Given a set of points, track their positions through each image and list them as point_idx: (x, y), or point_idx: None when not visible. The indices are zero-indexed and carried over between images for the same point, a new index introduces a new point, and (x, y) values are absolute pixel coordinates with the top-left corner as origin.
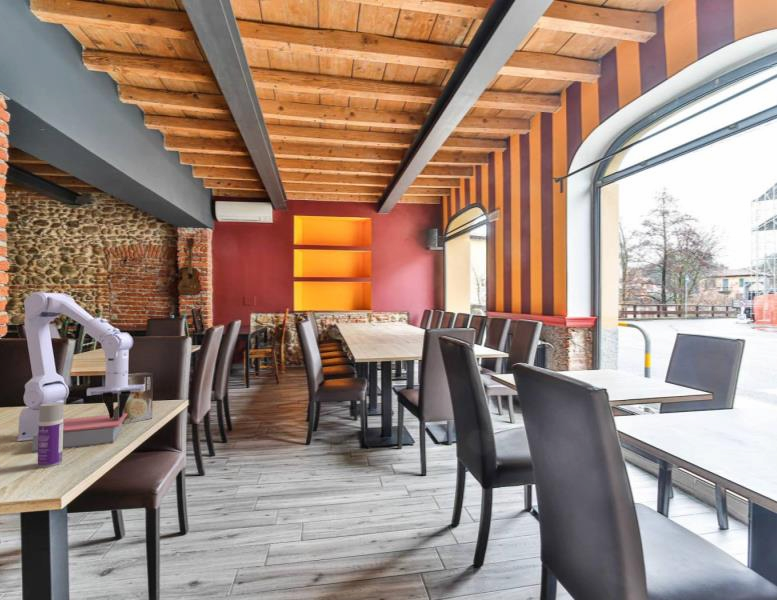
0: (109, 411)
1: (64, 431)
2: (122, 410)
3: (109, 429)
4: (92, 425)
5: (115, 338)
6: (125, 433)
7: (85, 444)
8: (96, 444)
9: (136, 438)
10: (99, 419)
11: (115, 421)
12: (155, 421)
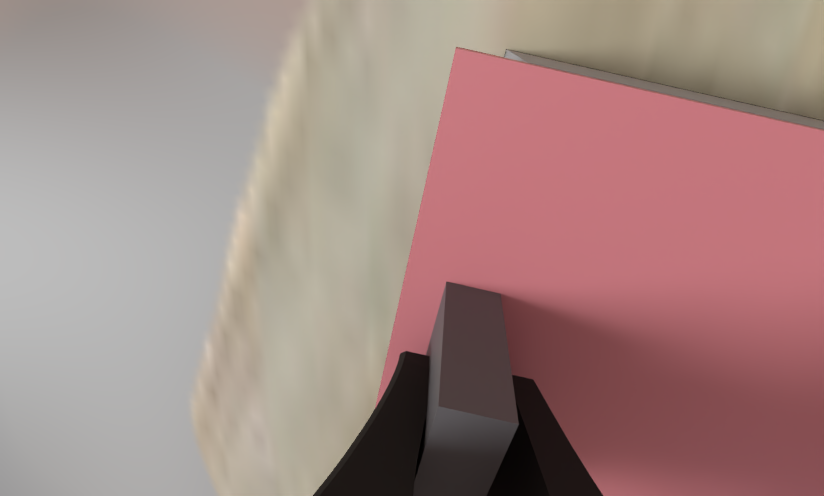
0: (563, 452)
1: None
2: (376, 410)
3: (570, 70)
4: (775, 238)
5: None
6: (388, 306)
7: (747, 104)
8: (647, 81)
9: (302, 84)
10: (611, 464)
11: (477, 273)
12: (208, 461)
